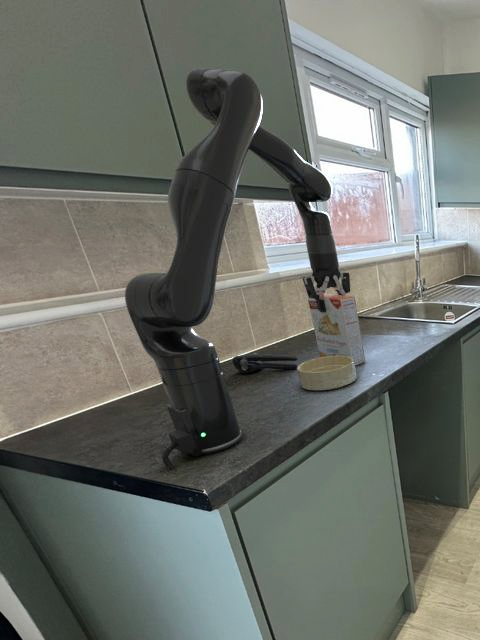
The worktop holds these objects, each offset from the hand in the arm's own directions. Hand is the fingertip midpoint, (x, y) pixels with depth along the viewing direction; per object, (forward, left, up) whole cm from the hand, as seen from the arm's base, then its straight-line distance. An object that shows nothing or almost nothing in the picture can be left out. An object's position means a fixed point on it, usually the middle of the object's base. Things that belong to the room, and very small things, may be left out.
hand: (333, 309), depth 124 cm
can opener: (-16, +14, -17) cm, 27 cm away
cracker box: (0, 0, -17) cm, 17 cm away
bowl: (-13, -12, -17) cm, 24 cm away
